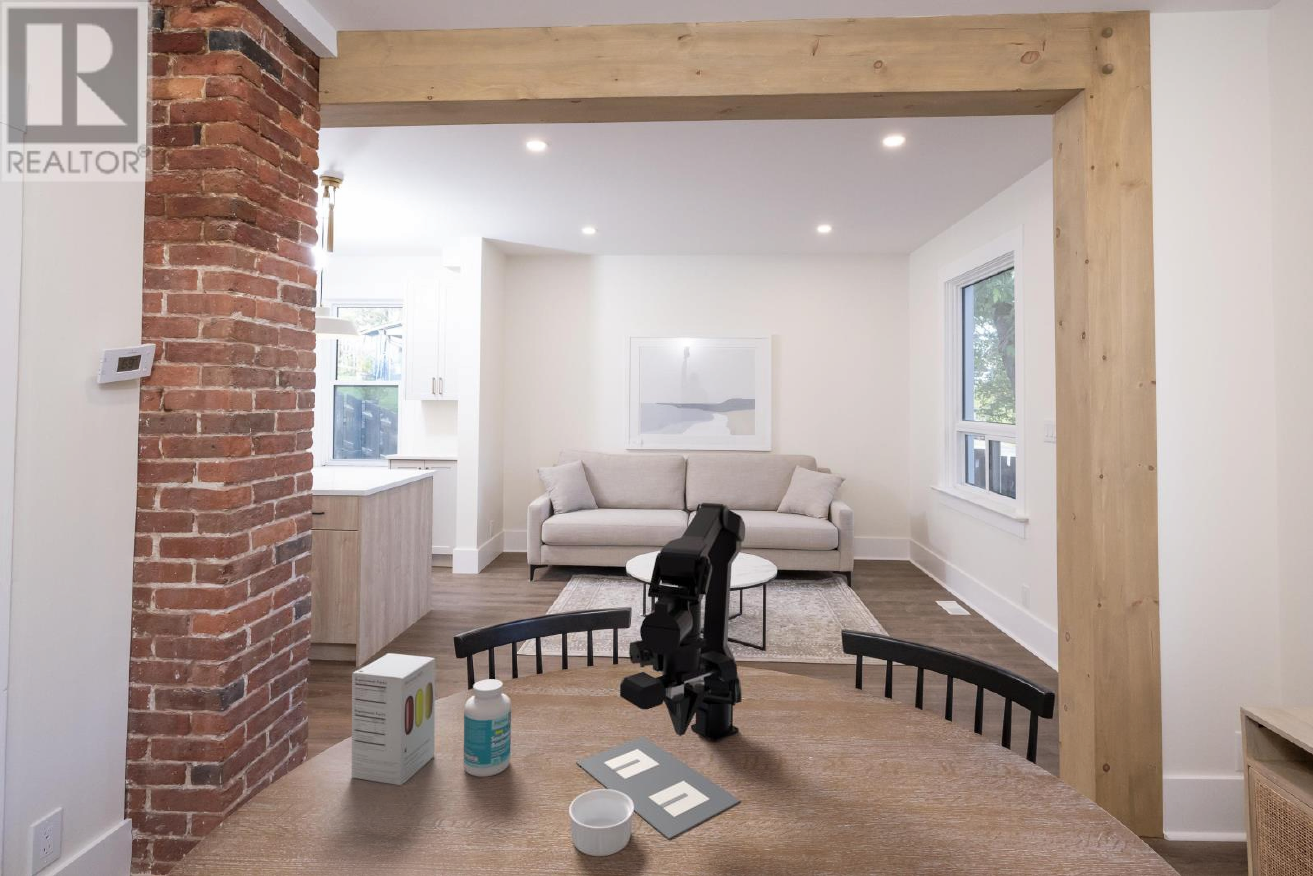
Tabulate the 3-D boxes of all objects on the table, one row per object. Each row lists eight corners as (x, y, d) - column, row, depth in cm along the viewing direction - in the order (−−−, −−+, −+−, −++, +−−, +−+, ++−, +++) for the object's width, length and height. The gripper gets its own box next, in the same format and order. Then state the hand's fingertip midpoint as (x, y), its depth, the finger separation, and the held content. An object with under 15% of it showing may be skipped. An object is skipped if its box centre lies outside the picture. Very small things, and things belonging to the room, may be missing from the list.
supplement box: (401, 787, 97) (401, 679, 96) (349, 779, 99) (349, 673, 98) (436, 755, 106) (436, 656, 106) (388, 748, 108) (388, 651, 108)
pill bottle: (498, 782, 99) (498, 696, 98) (454, 776, 100) (455, 692, 100) (518, 757, 106) (518, 677, 106) (477, 751, 107) (477, 673, 107)
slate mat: (643, 737, 113) (643, 735, 113) (740, 801, 94) (740, 799, 94) (576, 763, 104) (576, 761, 104) (668, 839, 86) (668, 837, 86)
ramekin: (556, 850, 84) (556, 817, 83) (587, 811, 92) (588, 782, 92) (616, 868, 80) (617, 835, 80) (644, 827, 88) (644, 796, 88)
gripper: (691, 607, 106) (690, 698, 106) (599, 629, 94) (598, 731, 95) (740, 624, 97) (738, 724, 98) (644, 650, 86) (643, 763, 86)
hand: (680, 734), depth 94 cm, fingers closed
